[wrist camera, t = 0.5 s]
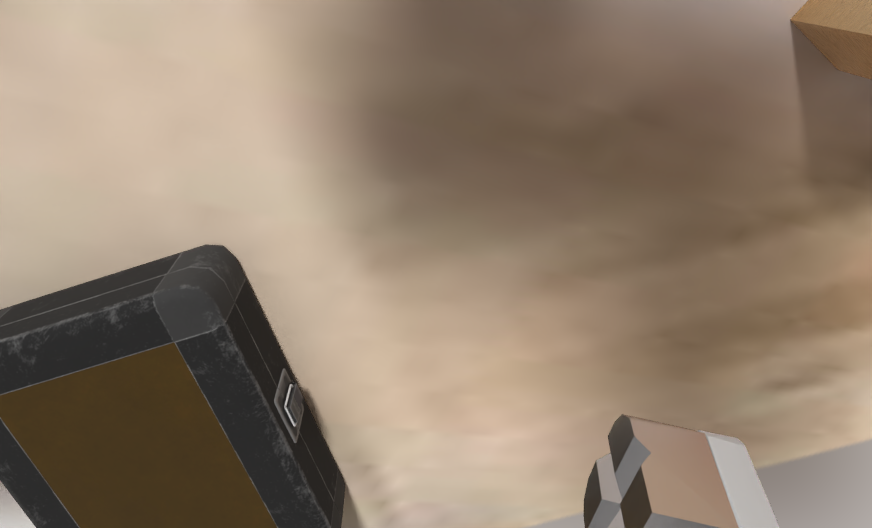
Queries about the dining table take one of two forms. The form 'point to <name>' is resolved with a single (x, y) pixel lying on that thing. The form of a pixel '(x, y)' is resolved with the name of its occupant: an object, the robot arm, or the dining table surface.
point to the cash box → (159, 406)
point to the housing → (840, 32)
